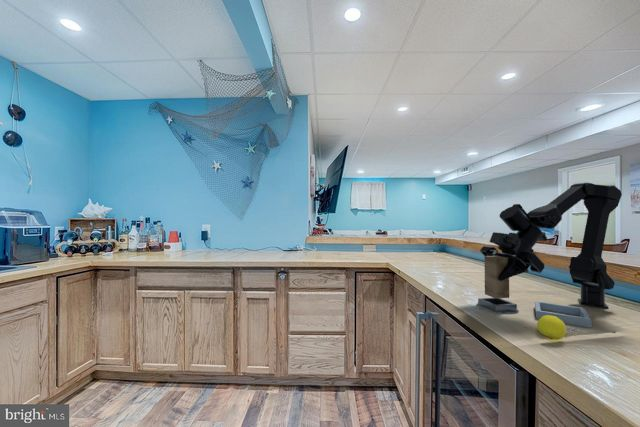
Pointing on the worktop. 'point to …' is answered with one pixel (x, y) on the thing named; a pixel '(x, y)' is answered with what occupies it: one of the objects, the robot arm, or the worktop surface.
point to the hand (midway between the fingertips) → (492, 278)
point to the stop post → (495, 277)
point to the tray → (569, 319)
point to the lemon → (551, 327)
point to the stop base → (497, 306)
